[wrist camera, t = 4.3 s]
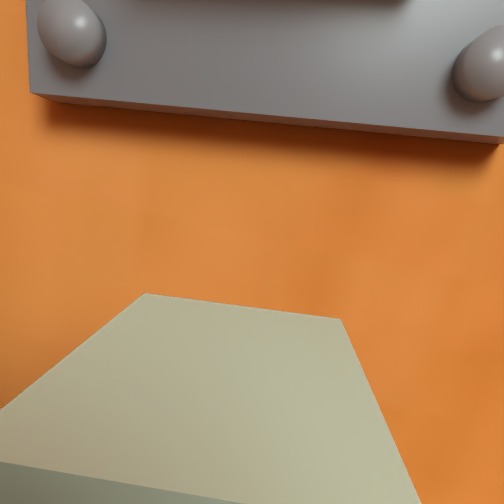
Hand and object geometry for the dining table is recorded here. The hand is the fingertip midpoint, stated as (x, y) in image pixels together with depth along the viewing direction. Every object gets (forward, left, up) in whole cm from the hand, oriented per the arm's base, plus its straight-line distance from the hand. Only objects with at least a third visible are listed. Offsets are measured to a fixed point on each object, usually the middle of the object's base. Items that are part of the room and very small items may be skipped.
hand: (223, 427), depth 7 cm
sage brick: (0, 0, -1) cm, 1 cm away
